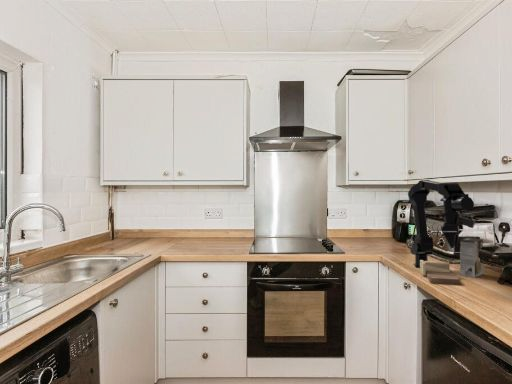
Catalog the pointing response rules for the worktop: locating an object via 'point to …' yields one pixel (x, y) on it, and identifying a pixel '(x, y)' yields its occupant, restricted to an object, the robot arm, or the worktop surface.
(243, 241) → the worktop surface
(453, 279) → the walnut board
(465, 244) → the grey upright block
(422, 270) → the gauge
